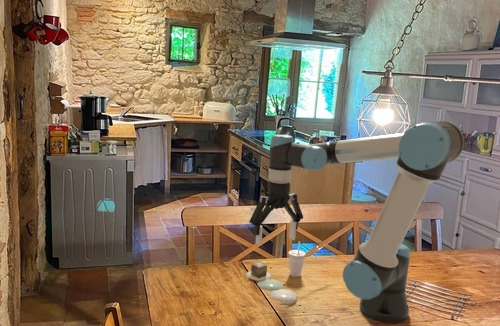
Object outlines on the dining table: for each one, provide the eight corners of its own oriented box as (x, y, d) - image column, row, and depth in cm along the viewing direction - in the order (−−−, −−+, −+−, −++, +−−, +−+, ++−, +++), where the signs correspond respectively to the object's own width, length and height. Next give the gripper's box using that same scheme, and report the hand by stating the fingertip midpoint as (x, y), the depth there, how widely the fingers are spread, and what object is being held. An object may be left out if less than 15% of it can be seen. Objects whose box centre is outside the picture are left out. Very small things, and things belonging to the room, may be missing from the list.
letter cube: (266, 275, 168) (267, 264, 167) (258, 278, 165) (259, 267, 164) (258, 271, 171) (259, 261, 170) (250, 274, 168) (251, 263, 167)
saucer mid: (288, 291, 159) (288, 287, 159) (265, 295, 155) (265, 292, 155) (274, 280, 167) (274, 277, 167) (252, 284, 163) (253, 281, 162)
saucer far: (275, 281, 166) (275, 278, 166) (253, 285, 162) (253, 282, 162) (263, 271, 174) (263, 268, 174) (241, 275, 170) (242, 272, 170)
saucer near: (302, 302, 152) (302, 298, 151) (278, 307, 147) (279, 303, 147) (287, 290, 159) (287, 287, 159) (264, 295, 155) (265, 291, 155)
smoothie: (304, 281, 167) (307, 245, 165) (286, 280, 167) (289, 244, 165) (302, 274, 173) (305, 239, 171) (285, 273, 174) (288, 238, 171)
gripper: (303, 176, 164) (299, 233, 167) (241, 180, 152) (238, 242, 155) (316, 181, 157) (311, 240, 161) (252, 186, 145) (249, 250, 149)
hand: (275, 241), depth 158 cm, fingers open, 13 cm apart
